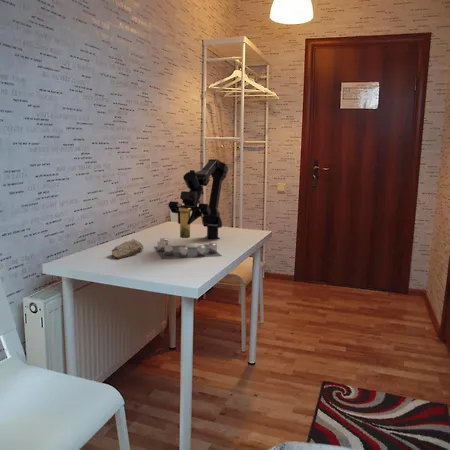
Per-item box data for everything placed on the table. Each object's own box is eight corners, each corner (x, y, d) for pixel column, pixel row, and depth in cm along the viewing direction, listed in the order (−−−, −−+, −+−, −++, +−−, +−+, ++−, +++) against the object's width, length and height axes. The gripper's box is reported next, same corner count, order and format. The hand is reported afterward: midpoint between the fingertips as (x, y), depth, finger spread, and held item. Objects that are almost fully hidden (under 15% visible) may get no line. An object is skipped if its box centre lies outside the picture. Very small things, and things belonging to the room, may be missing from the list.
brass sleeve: (177, 236, 197) (177, 207, 195) (189, 235, 199) (189, 206, 196) (180, 238, 192) (180, 208, 190) (192, 238, 194) (192, 208, 191)
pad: (183, 244, 210) (183, 243, 209) (201, 244, 212) (201, 242, 212) (187, 249, 201) (187, 247, 201) (206, 248, 204) (206, 247, 204)
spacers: (162, 246, 206) (162, 237, 205) (218, 252, 197) (218, 243, 196) (145, 253, 192) (145, 244, 191) (204, 260, 182) (204, 250, 182)
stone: (133, 238, 204) (148, 233, 198) (138, 251, 204) (153, 246, 199) (100, 251, 186) (116, 246, 181) (105, 266, 187) (121, 261, 181)
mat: (153, 247, 205) (153, 246, 205) (208, 245, 212) (208, 244, 212) (161, 260, 182) (161, 259, 182) (222, 257, 190) (222, 256, 190)
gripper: (169, 183, 198) (158, 211, 190) (208, 185, 192) (198, 214, 184) (177, 198, 207) (166, 226, 199) (215, 201, 201) (205, 229, 192)
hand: (183, 223), depth 193 cm, fingers closed on brass sleeve, 4 cm apart
